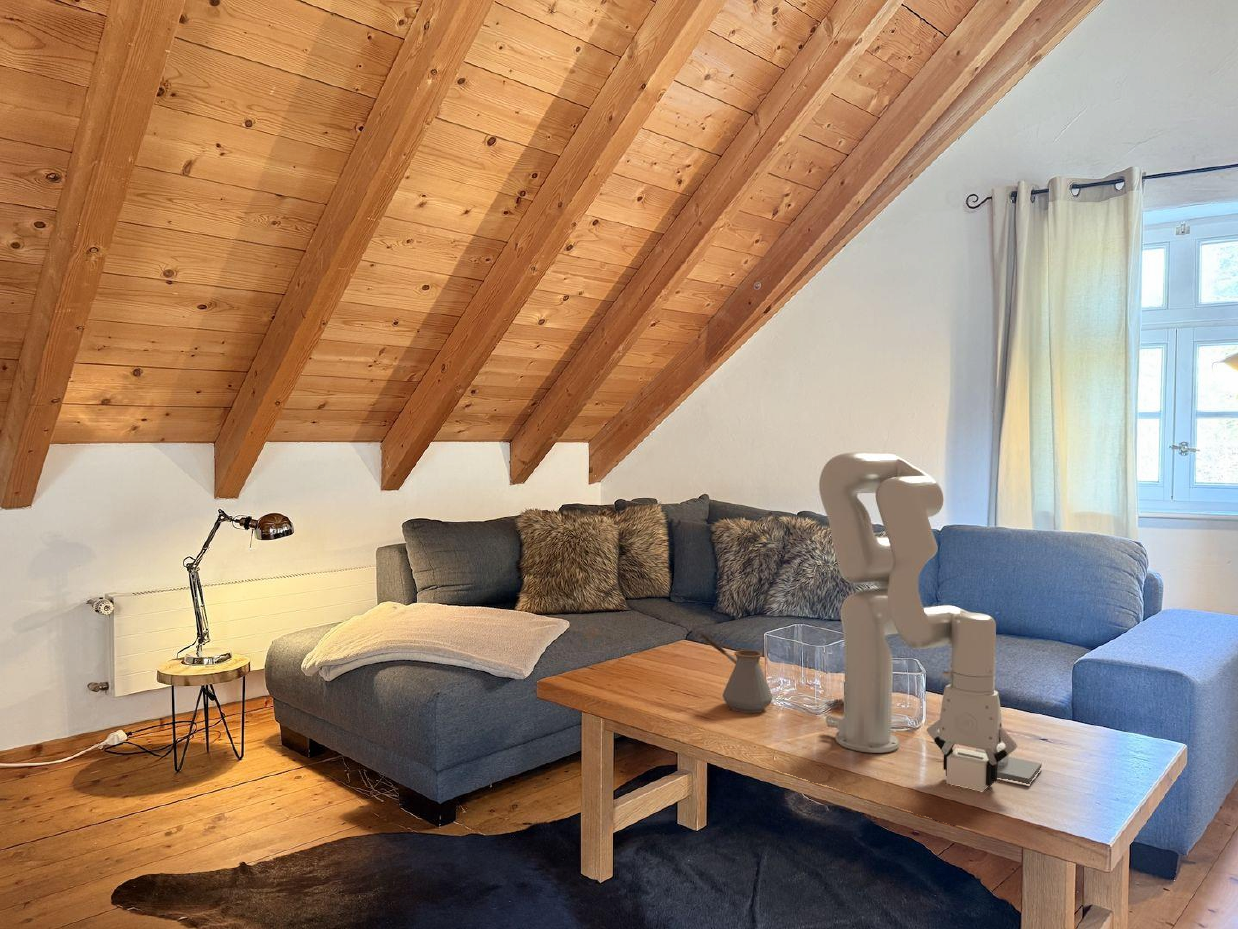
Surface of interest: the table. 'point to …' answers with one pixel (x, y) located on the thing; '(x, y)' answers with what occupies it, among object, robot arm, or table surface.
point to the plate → (1018, 770)
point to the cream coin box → (967, 769)
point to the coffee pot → (745, 681)
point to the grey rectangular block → (1004, 760)
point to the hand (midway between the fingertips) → (969, 778)
